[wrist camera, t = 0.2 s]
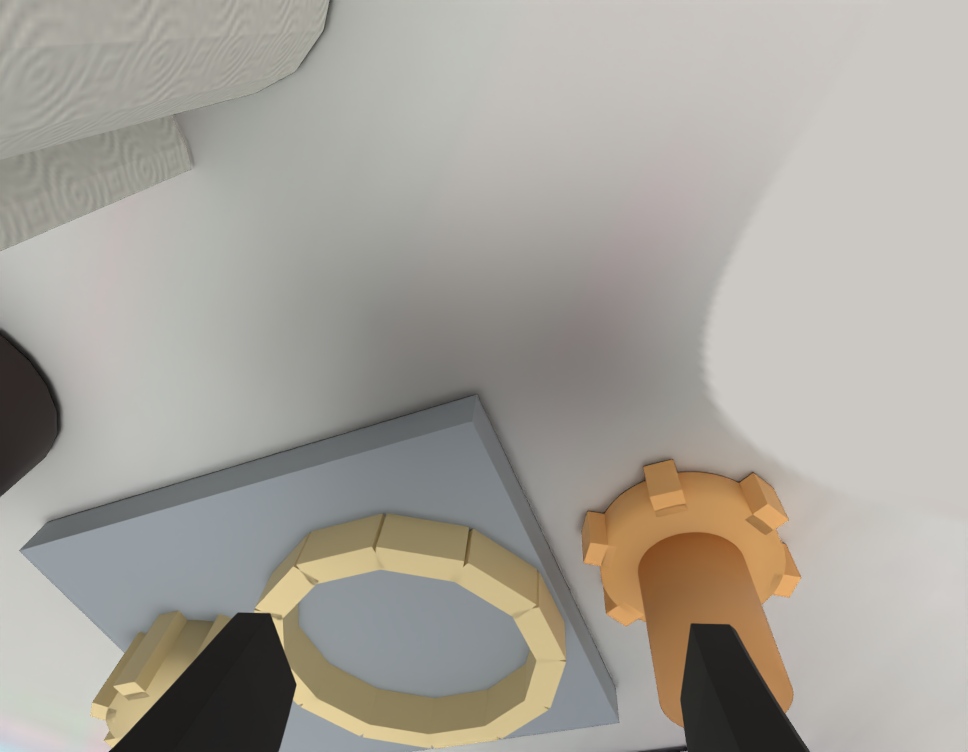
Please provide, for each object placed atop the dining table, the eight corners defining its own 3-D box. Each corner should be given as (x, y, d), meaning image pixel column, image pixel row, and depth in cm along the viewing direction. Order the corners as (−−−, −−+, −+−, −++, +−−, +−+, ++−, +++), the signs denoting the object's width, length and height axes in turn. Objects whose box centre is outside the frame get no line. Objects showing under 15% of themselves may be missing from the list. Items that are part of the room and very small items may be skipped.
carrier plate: (615, 688, 27) (627, 802, 23) (261, 742, 31) (221, 844, 27) (477, 394, 19) (460, 487, 16) (46, 522, 24) (-48, 618, 20)
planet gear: (794, 585, 22) (869, 754, 17) (618, 617, 24) (638, 780, 19) (762, 437, 19) (841, 590, 14) (562, 486, 21) (567, 638, 16)
